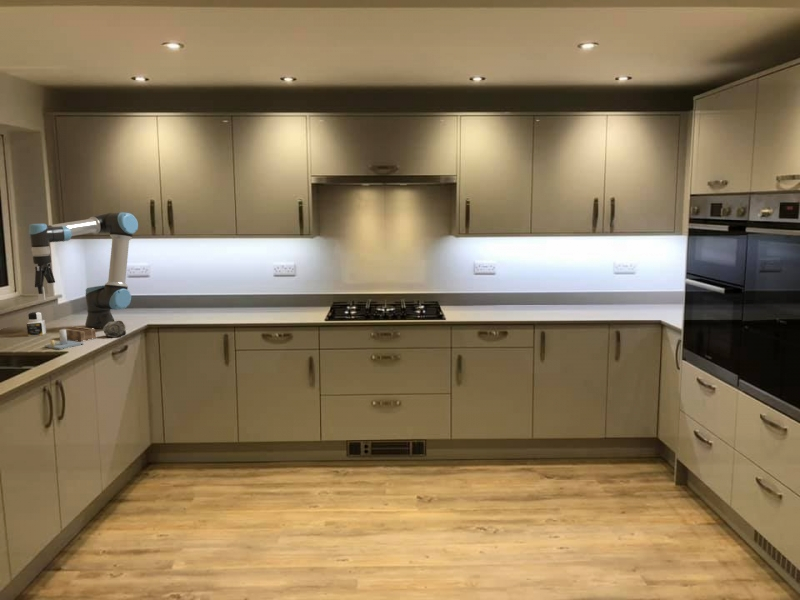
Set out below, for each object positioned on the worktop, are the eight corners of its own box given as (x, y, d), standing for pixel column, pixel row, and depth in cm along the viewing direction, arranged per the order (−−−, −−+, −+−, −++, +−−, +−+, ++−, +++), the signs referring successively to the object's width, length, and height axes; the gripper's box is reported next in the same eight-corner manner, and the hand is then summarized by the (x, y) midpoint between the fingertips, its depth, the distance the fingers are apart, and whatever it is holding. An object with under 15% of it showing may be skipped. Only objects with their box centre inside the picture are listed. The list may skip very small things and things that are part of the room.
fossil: (106, 338, 311) (102, 320, 313) (104, 343, 318) (100, 326, 320) (129, 334, 317) (124, 316, 319) (126, 340, 324) (122, 322, 326)
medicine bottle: (27, 336, 322) (25, 314, 320) (31, 333, 329) (29, 311, 327) (42, 335, 324) (40, 313, 322) (46, 332, 331) (44, 311, 329)
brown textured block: (60, 338, 315) (59, 329, 314) (75, 335, 322) (74, 326, 321) (81, 341, 307) (80, 331, 306) (95, 338, 314) (95, 328, 313)
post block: (68, 342, 306) (66, 326, 304) (83, 344, 300) (81, 328, 299) (44, 347, 295) (42, 331, 294) (59, 349, 289) (57, 333, 288)
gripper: (42, 253, 310) (47, 294, 313) (23, 258, 286) (29, 302, 289) (58, 252, 311) (63, 293, 315) (40, 257, 287) (46, 301, 291)
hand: (47, 298), depth 302 cm, fingers open, 13 cm apart
